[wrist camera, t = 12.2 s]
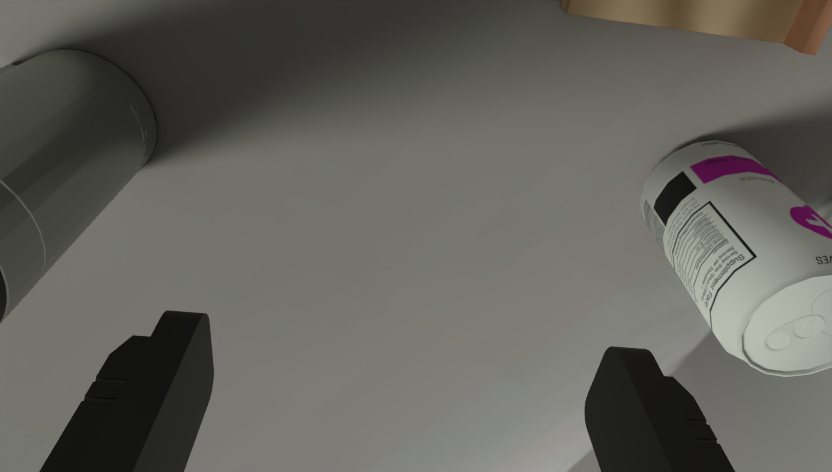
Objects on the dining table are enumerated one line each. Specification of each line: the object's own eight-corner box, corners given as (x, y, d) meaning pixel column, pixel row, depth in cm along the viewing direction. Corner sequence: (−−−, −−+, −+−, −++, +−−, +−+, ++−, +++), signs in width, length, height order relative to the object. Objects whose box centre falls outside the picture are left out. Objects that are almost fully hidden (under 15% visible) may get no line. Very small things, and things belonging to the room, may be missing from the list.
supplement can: (724, 112, 39) (870, 234, 26) (770, 195, 42) (918, 338, 30) (616, 180, 42) (701, 319, 29) (668, 252, 45) (763, 404, 33)
